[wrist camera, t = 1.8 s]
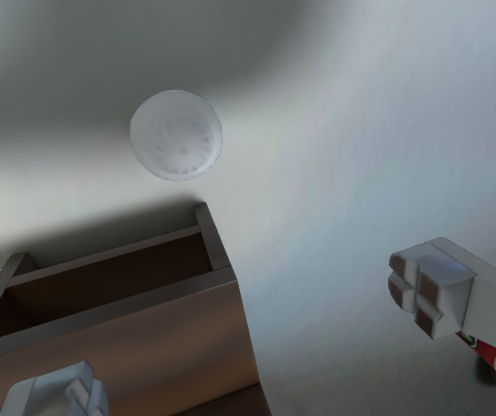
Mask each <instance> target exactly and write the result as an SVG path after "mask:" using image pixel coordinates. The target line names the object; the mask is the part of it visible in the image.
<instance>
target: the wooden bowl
mask: <svg viewBox="0 0 496 416" xmlns="http://www.w3.org/2000/svg"><path fill="white" fill-rule="evenodd" d="M490 372H491V376H492V378H493V381H494V383H495V385H496V370H495V369H494V368H493V367H492V366H491V365H490Z"/></svg>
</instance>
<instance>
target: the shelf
mask: <svg viewBox="0 0 496 416" xmlns="http://www.w3.org/2000/svg"><path fill="white" fill-rule="evenodd" d="M193 208H194V212H195V216H196V219H197V223H198V225H195V226H192V227H188V228H185V229H181V230H178V231H174V232H171V233H167V234H163V235H160V236H156V237H153V238H149V239H146V240H142V241H139V242H135V243H132V244H128V245H125V246H121V247H117V248H114V249H110V250H107V251H103V252H100V253H96V254H93V255H89V256H86V257H82V258H79V259H75V260H71V261H68V262H64V263H61V264H57V265H54V266H50V267H47V268H43V269H40V270H37V268H36V266H35V265H34V263H33V261H32V260H31V258H30V256H29V255H28V253H27V252H23V253H19V254H15V255H12V256H10V258H9V259H8V261H7V263H6V264H5V266H4V267H3V269H2V271H1V272H0V411H1V409H2V406H3V404H4V401H5V399H6V396H7V394H8V391H9V390H10V389H11V387H12V386H13V385H14V384H15V383H18V382H21V381H24V380H27V379H30V378H33V377H37V376H39V375H41V374H44V373H47V372H51V371H54V370H57V369H60V368H63V367H66V366H69V365H72V364H75V363H79V362H82V361H89V363H90V364H91V366H92V367H93V369H94V375H93V379H96V380H99V381H102V383H103V385H104V386H105V388H106V391H107V394H108V397H109V406H110V415H109V416H272V414H271V411H270V409H269V406H268V403H267V400H266V397H265V394H264V391H263V388H262V386H261V383H260V379H259V374H258V370H257V365H256V361H255V356H254V352H253V347H252V343H251V338H250V334H249V330H248V325H247V321H246V316H245V312H244V307H243V303H242V298H241V294H240V290H239V285H238V281H237V278H236V275H235V273H234V270H233V268H232V266H231V263H230V261H229V258H228V256H227V253H226V251H225V248H224V246H223V243H222V241H221V238H220V236H219V233H218V231H217V228H216V226H215V223H214V221H213V218H212V216H211V213H210V211H209V208H208V206H207V204H206V203H203V204H199V205H196V206H193Z"/></svg>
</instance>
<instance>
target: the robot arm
mask: <svg viewBox="0 0 496 416" xmlns="http://www.w3.org/2000/svg"><path fill="white" fill-rule="evenodd" d="M389 266H390V267H391V268H392V269H393V272H392V273H391V275H390V276H389V278H388V288H389V290H390V293H391V296H392V298H393V299H394V301H395V302H396V304H397V305H398V306H399V307H400V308H401V309H402V310H404V311H407V312H410V313H412V314H414V321H415V323H416V324H417V325H418V326H419V327H420V328H421V329H422V330H423V331H424V332H425V333H426V334H427V335H428V336H429V337H431V338H432V339H433V340H437V339H439V338H442V337H445V336H448V335H450V334H453V333H456V332H458V331H461V330H462V332H464V333H466V334H468V335H470V336H472V337H474V338H477V339H479V340H481V341H483V342H485V343H487V344H490V345H492V346H494V347H496V268H494V267H492V266H491V265H489V264H488V263H486V262H484V261H483V260H481V259H479V258H478V257H476V256H474V255H473V254H471V253H470V252H468V251H466V250H465V249H463V248H461V247H460V246H458V245H457V244H455V243H453V242H452V241H450V240H448V239H447V238H443V237H438V238H435V239H432V240H429V241H426V242H424V243H421V244H418V245H415V246H413V247H410V248H407V249H404V250H401V251H399V252H396V253H393V254H392V255H391V257H390V260H389ZM93 375H94V369H93V367H92V366H91V364H90V363H89V361H82V362H79V363H75V364H72V365H69V366H66V367H63V368H60V369H57V370H54V371H51V372H47V373H44V374H41V375H39V376H37V377H33V378H30V379H27V380H24V381H21V382H18V383H15V384H14V385H13V386H12V387H11V389H10V390H9V391H8V394H7V396H6V399H5V401H4V404H3V406H2V409H1V411H0V416H109V415H110V406H109V397H108V394H107V391H106V388H105V386H104V385H103V383H102V381H99V380H96V379H93Z"/></svg>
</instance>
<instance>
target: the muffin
mask: <svg viewBox="0 0 496 416" xmlns="http://www.w3.org/2000/svg"><path fill="white" fill-rule="evenodd" d="M130 140H131V144H132V148H133V151H134V153H135V155H136V157H137V159H138V160H139V161H140V163H141V164H142V165H143V166H144V167H145V168H146V169H147V170H148V171H149V172H151V173H152V174H154V175H156V176H158V177H160V178H163V179H166V180H171V181H183V180H188V179H192V178H195V177H197V176H199V175H201V174H203V173H204V172H206V171H207V170H208V169H209V168H210V167H211V166H212V165H213V164H214V163H215V161H216V160H217V158H218V156H219V154H220V152H221V149H222V143H223V135H222V128H221V124H220V121H219V118H218V116H217V114H216V112H215V111H214V109H213V108H212V107H211V106H210V104H209V103H208V102H206V101H205V100H204V99H203V98H201V97H199V96H198V95H196V94H194V93H191V92H188V91H184V90H166V91H162V92H160V93H157V94H155V95H153V96H152V97H150V98H149V99H147V100H146V101H145V102H144V103H143V104H142V105H141V106H140V107H139V108H138V109H137V111H136V112H135V114H134V115H133V118H132V120H131V124H130Z"/></svg>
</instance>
